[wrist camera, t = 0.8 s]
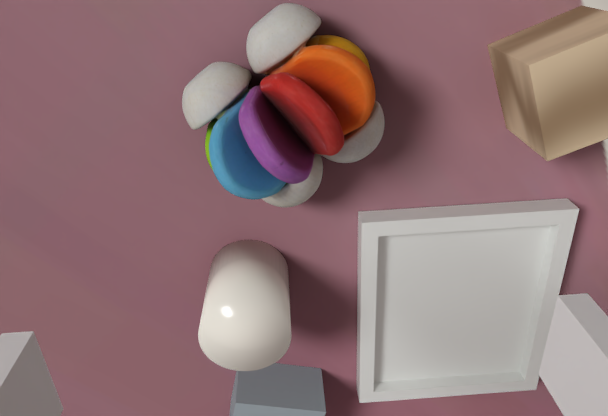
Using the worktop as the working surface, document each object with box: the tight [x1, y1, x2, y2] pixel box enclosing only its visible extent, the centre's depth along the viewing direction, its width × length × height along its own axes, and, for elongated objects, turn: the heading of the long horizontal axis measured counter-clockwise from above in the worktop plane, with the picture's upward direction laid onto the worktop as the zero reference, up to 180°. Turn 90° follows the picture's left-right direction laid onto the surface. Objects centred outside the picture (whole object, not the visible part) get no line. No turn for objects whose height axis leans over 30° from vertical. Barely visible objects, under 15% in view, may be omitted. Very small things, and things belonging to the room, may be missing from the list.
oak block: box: [487, 6, 608, 161], centre depth 26 cm, size 5×5×5 cm
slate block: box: [230, 363, 326, 416], centre depth 36 cm, size 4×6×4 cm, turn 78°
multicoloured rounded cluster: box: [182, 3, 385, 207], centre depth 25 cm, size 8×10×7 cm
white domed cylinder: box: [198, 240, 291, 371], centre depth 30 cm, size 5×5×6 cm
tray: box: [357, 198, 579, 403], centre depth 34 cm, size 15×13×1 cm
